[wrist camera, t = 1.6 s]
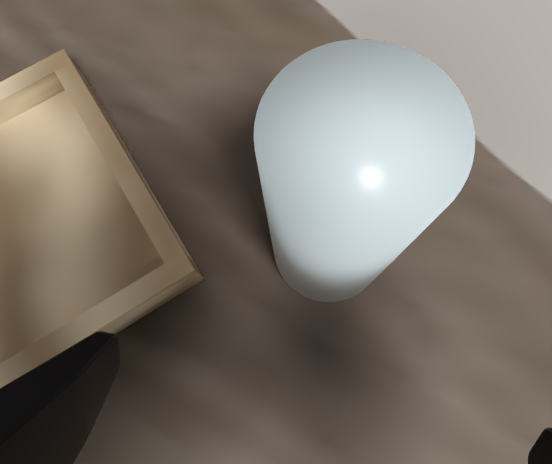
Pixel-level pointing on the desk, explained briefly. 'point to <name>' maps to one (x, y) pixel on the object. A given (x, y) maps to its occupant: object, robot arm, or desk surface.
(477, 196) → the desk surface
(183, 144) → the desk surface
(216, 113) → the desk surface
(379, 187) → the white rounded cylinder
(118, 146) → the tray
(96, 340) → the robot arm
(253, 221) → the desk surface
